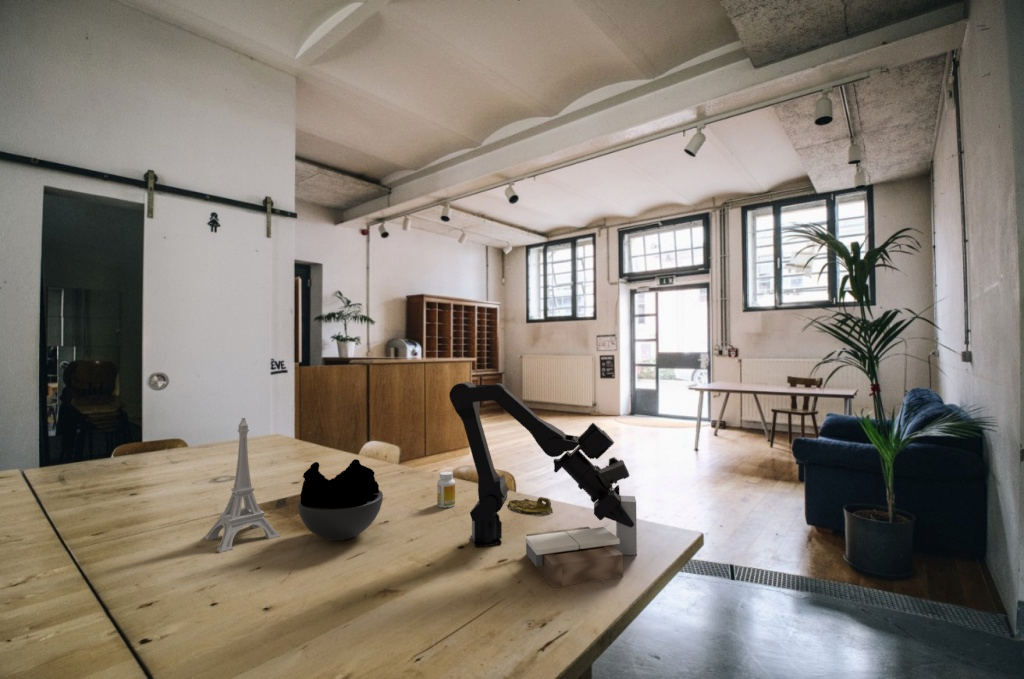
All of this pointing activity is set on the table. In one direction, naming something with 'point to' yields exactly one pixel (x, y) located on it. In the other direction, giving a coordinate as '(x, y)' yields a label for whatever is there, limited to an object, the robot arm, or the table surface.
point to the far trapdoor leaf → (594, 538)
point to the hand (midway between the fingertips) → (632, 522)
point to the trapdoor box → (580, 564)
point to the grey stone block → (628, 533)
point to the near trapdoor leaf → (548, 545)
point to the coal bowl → (339, 501)
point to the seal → (531, 506)
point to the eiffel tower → (240, 502)
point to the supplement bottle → (446, 490)
